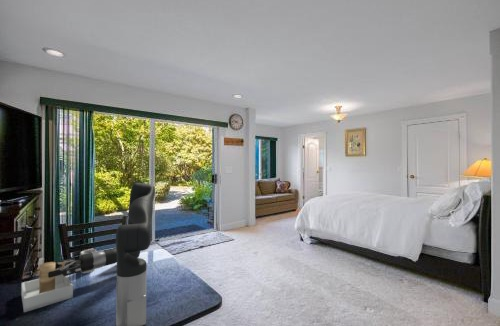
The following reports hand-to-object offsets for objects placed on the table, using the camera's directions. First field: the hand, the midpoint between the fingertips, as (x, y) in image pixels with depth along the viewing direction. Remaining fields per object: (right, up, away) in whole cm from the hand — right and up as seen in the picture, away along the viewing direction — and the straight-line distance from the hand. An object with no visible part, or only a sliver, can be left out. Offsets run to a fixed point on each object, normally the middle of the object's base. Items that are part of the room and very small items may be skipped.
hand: (46, 271), depth 100 cm
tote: (0, -10, 0) cm, 10 cm away
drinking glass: (+1, -11, +25) cm, 27 cm away
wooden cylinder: (0, -9, 0) cm, 9 cm away
